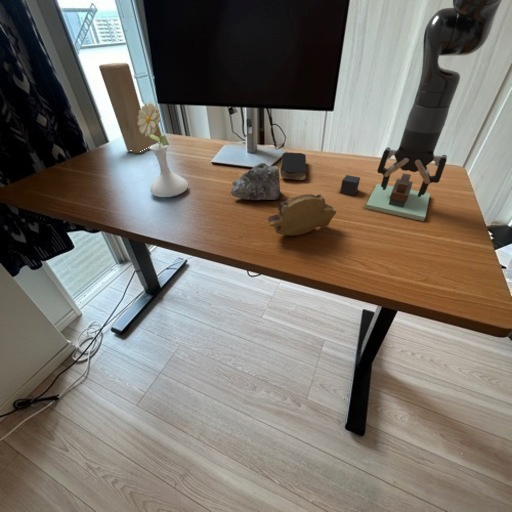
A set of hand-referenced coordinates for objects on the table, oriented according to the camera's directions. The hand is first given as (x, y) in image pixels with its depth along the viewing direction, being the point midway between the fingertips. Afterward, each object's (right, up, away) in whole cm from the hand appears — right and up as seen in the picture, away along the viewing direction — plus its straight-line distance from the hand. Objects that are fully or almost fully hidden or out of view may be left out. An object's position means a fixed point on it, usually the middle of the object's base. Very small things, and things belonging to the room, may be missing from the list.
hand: (401, 192), depth 71 cm
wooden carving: (-28, -11, -7) cm, 31 cm away
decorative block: (-86, +30, +45) cm, 102 cm away
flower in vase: (-65, +2, +11) cm, 66 cm away
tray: (0, -2, +2) cm, 3 cm away
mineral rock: (-38, 0, +8) cm, 39 cm away
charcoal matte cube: (-10, +3, +6) cm, 12 cm away
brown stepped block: (0, -1, +1) cm, 2 cm away
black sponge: (-26, +12, +20) cm, 35 cm away
